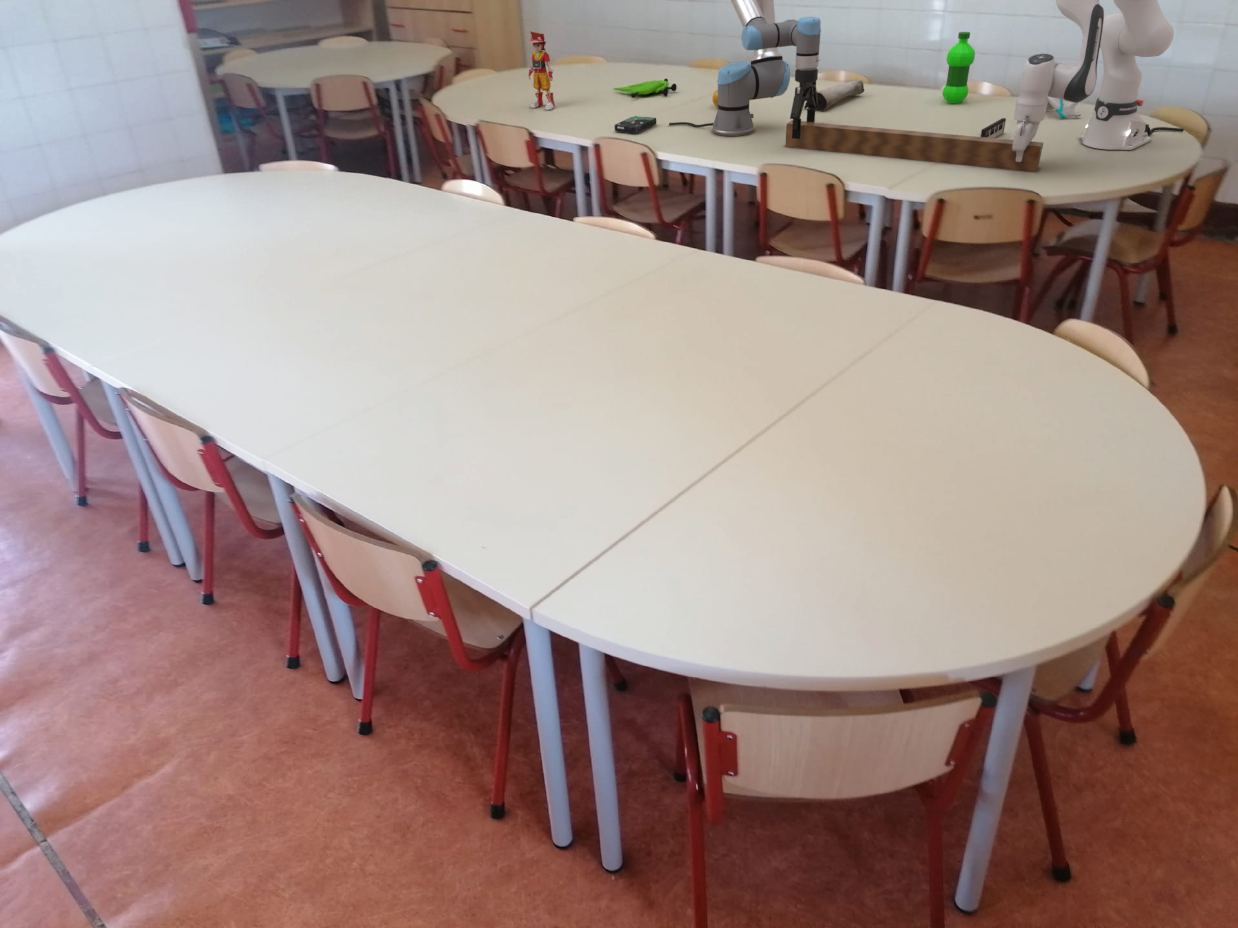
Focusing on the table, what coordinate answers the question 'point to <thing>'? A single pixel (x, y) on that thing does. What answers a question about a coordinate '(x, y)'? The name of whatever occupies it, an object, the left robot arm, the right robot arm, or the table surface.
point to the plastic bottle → (958, 69)
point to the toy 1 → (541, 71)
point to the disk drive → (635, 124)
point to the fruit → (715, 98)
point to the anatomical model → (1062, 108)
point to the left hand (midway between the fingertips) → (803, 133)
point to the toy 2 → (648, 88)
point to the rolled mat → (837, 93)
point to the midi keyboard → (994, 129)
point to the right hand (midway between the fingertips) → (1020, 158)
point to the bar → (915, 145)
